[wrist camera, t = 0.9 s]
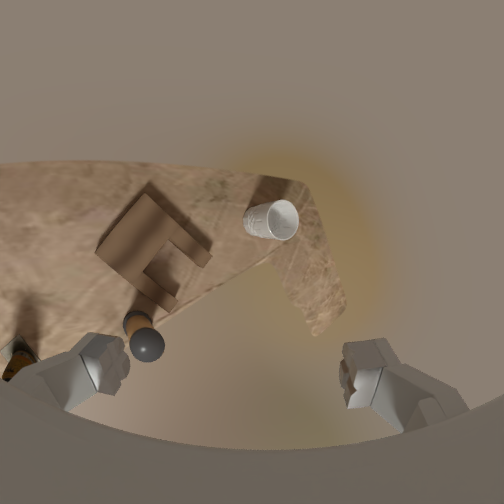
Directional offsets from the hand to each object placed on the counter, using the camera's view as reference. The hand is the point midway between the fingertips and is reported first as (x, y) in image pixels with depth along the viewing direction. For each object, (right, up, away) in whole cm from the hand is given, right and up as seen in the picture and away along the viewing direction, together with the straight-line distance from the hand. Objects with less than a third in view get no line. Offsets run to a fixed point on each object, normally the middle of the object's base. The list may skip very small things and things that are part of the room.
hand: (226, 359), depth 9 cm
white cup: (+2, +11, +52) cm, 53 cm away
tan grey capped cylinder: (-21, -10, +39) cm, 46 cm away
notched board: (-18, +3, +40) cm, 44 cm away
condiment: (-44, -17, +26) cm, 54 cm away
